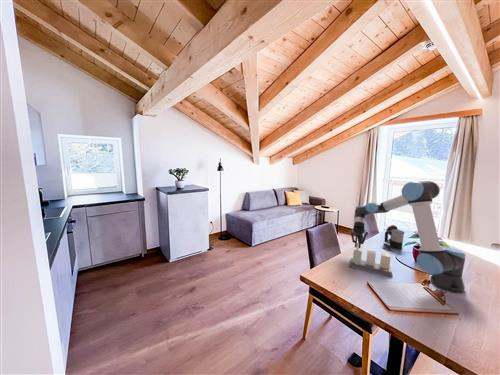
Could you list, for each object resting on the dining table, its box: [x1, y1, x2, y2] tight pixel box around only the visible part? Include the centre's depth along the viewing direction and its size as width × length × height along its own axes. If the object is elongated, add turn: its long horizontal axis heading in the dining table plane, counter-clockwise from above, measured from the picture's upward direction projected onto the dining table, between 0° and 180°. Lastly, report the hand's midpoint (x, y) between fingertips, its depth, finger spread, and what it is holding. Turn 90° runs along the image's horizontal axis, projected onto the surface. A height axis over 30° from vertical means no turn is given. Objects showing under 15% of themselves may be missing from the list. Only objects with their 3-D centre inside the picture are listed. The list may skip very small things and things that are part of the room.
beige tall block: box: [379, 252, 391, 270], centre depth 143 cm, size 4×5×9 cm
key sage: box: [352, 249, 363, 265], centre depth 147 cm, size 4×5×9 cm
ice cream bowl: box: [385, 224, 399, 241], centre depth 197 cm, size 11×11×15 cm
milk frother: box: [383, 229, 405, 251], centre depth 179 cm, size 14×16×15 cm
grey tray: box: [349, 257, 394, 278], centre depth 146 cm, size 12×25×3 cm, turn 62°
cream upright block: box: [365, 249, 377, 266], centre depth 147 cm, size 4×5×9 cm
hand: (357, 251), depth 154 cm, fingers closed
